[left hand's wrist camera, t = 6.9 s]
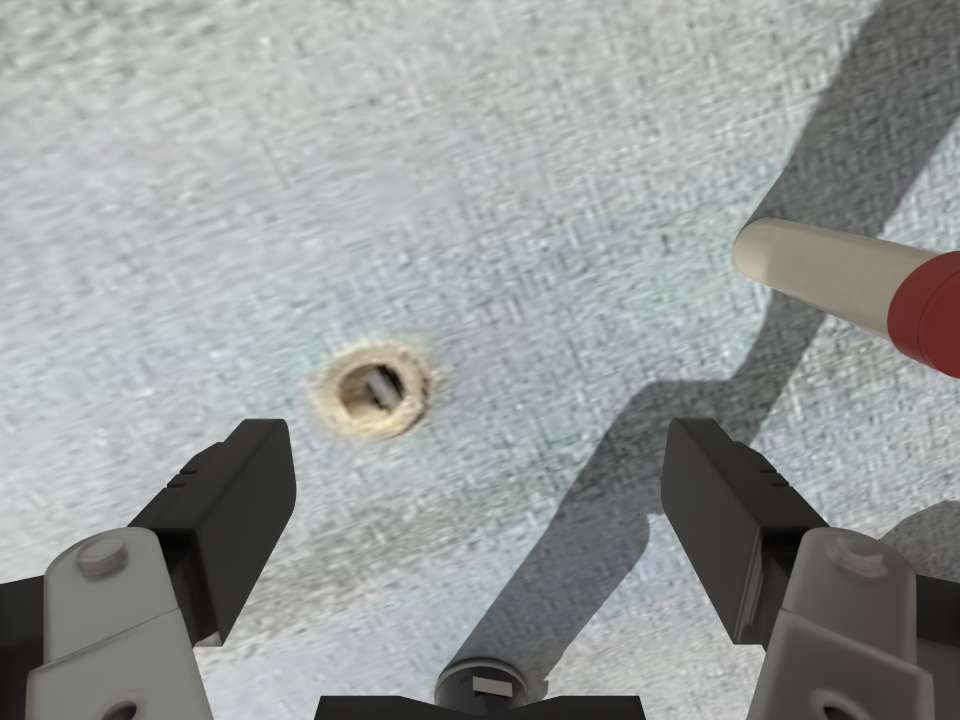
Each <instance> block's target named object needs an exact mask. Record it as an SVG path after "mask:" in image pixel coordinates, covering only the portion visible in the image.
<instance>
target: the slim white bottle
mask: <svg viewBox="0 0 960 720" xmlns="http://www.w3.org/2000/svg"><path fill="white" fill-rule="evenodd" d="M942 254H945V252H940V251H935V250H930V249H926V248H921V247H916V246H911V245H906V244H901V243H896V242H891V241H887V240H882V239H877V238H872V237H867V236H862V235H857V234H853V233H848V232H843V231H838V230H833V229H828V228H823V227H819V226H814V225H809V224H804V223H799V222H794V221H789V220H785V219H780V218H774V217H765V218H761V219H758V220H756V221H754V222H752V223H750V224H749V225H747V226H746V227H745V228H744V229H743V230H742V231H741V233H740V234H739V235H738V237H737V239H736V241H735V244H734V248H733V260H734V263H735V266H736V268H737V269H738V270H739V272H740V273H742V274H743V275H744V276H746V277H748V278H750V279H753V280H755V281H757V282H759V283H762V284H764V285H766V286H768V287H770V288H773V289H775V290H777V291H779V292H782V293H784V294H786V295H788V296H790V297H793V298H795V299H797V300H799V301H802V302H804V303H806V304H808V305H810V306H813V307H815V308H817V309H819V310H822V311H824V312H826V313H828V314H830V315H833V316H835V317H837V318H839V319H842V320H844V321H846V322H848V323H850V324H853V325H855V326H857V327H859V328H862V329H864V330H866V331H868V332H870V333H873V334H875V335H877V336H879V337H882V338H884V339H886V340H888V341H890V342H892V341H891V339H890V336H889V333H888V328H887V315H888V309H889V306H890V303H891V301H892V298H893V296H894V294H895V292H896V290H897V289H898V288H899V286H900V285H901V283H902V282H903V281H904V280H905V279H906V278H907V276H908V275H909V274H911V273H912V272H913V271H914V270H915V269H916V268H918V267H919V266H920V265H922V264H923V263H925V262H927V261H928V260H930V259H932V258H934V257H936V256H939V255H942Z"/></svg>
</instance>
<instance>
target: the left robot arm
mask: <svg viewBox="0 0 960 720" xmlns="http://www.w3.org/2000/svg"><path fill="white" fill-rule="evenodd" d="M661 498H662V504H663V508H664V511H665V513H666V516H667V517H668V519H669V521H670V523H671V525H672V527H673V529H674V531H675V533H676V535H677V537H678V539H679V541H680V542H681V544H682V546H683V548H684V550H685V552H686V554H687V556H688V558H689V560H690V562H691V564H692V566H693V567H694V569H695V571H696V573H697V575H698V577H699V579H700V581H701V583H702V585H703V587H704V589H705V591H706V592H707V594H708V596H709V598H710V600H711V602H712V604H713V606H714V608H715V610H716V612H717V614H718V615H719V617H720V619H721V621H722V623H723V625H724V627H725V629H726V631H727V633H728V635H729V637H730V639H731V640H732V642H733V644H734V645H762V646H763V648H764V650H765V652H766V656H765V659H764V662H763V666H762V669H761V672H760V676H759V679H758V682H757V686H756V689H755V692H754V696H753V699H752V702H751V706H750V709H749V712H748V716H747V719H746V720H960V583H955V582H951V581H946V580H941V579H936V578H931V577H927V576H922V575H917V574H915V572H914V570H913V568H912V567H911V565H910V564H909V563H908V562H907V561H906V560H905V559H904V558H903V557H902V556H901V555H900V554H899V553H898V552H896V551H895V550H893V549H892V548H890V547H889V546H887V545H886V544H884V543H882V542H880V541H878V540H876V539H874V538H872V537H870V536H867V535H864V534H862V533H859V532H855V531H852V530H848V529H843V528H836V527H830V526H829V525H828V524H827V523H826V522H825V521H824V520H823V518H822V517H821V516H820V515H819V514H818V513H817V512H816V511H815V510H814V509H813V508H812V507H811V506H810V505H809V504H808V503H807V502H806V501H805V499H804V498H803V497H802V496H801V495H800V494H799V493H798V492H797V491H796V490H795V489H794V488H793V487H792V486H789V483H788V482H787V481H786V479H785V478H784V477H783V476H782V475H781V474H780V473H777V470H776V469H775V468H774V467H773V466H772V465H771V464H770V463H769V462H768V460H767V459H766V458H765V457H764V456H763V455H762V454H760V453H758V452H757V451H755V450H753V449H751V448H750V447H748V446H746V445H745V444H743V443H741V442H739V441H732V440H731V438H730V437H729V436H728V435H727V434H726V433H725V432H724V431H723V429H722V428H721V427H720V426H719V425H718V424H717V423H716V422H715V420H713V419H712V418H674V419H673V420H672V421H671V423H670V426H669V430H668V437H667V444H666V451H665V458H664V465H663V472H662V479H661ZM295 501H296V479H295V472H294V465H293V458H292V451H291V444H290V437H289V430H288V426H287V423H286V422H285V420H284V419H245V420H243V421H242V422H241V423H240V424H239V425H238V427H237V428H236V429H235V430H234V431H233V432H232V433H231V434H230V435H229V437H228V438H227V439H226V440H225V441H224V442H217V443H215V444H214V445H212V446H210V447H208V448H207V449H205V450H203V451H202V452H200V453H198V454H196V455H195V456H194V457H193V458H192V459H191V460H190V461H189V462H188V463H187V464H186V465H185V466H184V467H183V468H182V469H181V470H180V474H176V476H175V477H174V478H173V479H172V480H171V481H170V482H169V483H168V484H167V488H163V489H162V490H161V491H160V492H159V493H158V494H157V495H156V496H155V497H154V499H153V500H152V501H151V502H150V503H149V504H148V505H147V506H146V507H145V508H144V509H143V510H142V511H141V512H140V513H139V514H138V515H137V516H136V517H135V518H134V519H133V520H132V522H131V523H130V524H129V525H128V526H127V527H124V528H117V529H112V530H108V531H105V532H101V533H98V534H96V535H93V536H90V537H88V538H86V539H84V540H82V541H80V542H78V543H76V544H74V545H73V546H71V547H70V548H68V549H67V550H65V551H64V552H62V553H61V554H60V555H59V556H58V557H57V558H56V559H55V560H54V561H53V562H52V563H51V564H50V565H49V567H48V568H47V570H46V572H45V575H42V576H37V577H33V578H28V579H23V580H18V581H13V582H8V583H4V584H0V720H214V719H213V716H212V712H211V709H210V706H209V702H208V699H207V696H206V692H205V689H204V686H203V682H202V679H201V676H200V672H199V669H198V666H197V662H196V659H195V656H194V652H193V648H194V647H222V646H223V644H224V642H225V640H226V638H227V636H228V635H229V633H230V631H231V629H232V627H233V625H234V623H235V621H236V619H237V618H238V616H239V614H240V612H241V610H242V608H243V606H244V604H245V602H246V600H247V599H248V597H249V595H250V593H251V591H252V589H253V587H254V585H255V583H256V581H257V580H258V578H259V576H260V574H261V572H262V570H263V568H264V566H265V564H266V562H267V561H268V559H269V557H270V555H271V553H272V551H273V549H274V547H275V545H276V543H277V542H278V540H279V538H280V536H281V534H282V532H283V530H284V528H285V526H286V524H287V523H288V521H289V519H290V517H291V515H292V513H293V510H294V506H295ZM434 700H435V705H432V704H429V703H425V702H421V701H417V700H413V699H410V698H406V697H402V696H321V697H320V701H319V704H318V708H317V711H316V714H315V718H314V720H646V718H645V714H644V711H643V708H642V704H641V701H640V697H639V696H558V697H554V698H550V699H547V700H543V701H539V702H535V703H531V704H528V690H527V685H526V682H525V680H524V678H523V677H522V675H521V674H520V673H519V672H518V671H517V670H516V669H514V668H513V667H511V666H510V665H508V664H505V663H503V662H500V661H497V660H492V659H471V660H466V661H462V662H460V663H457V664H455V665H453V666H451V667H450V668H448V669H447V670H446V671H445V672H444V673H443V674H442V675H441V676H440V678H439V679H438V681H437V684H436V687H435V699H434Z"/></svg>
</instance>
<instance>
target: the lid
mask: <svg viewBox="0 0 960 720" xmlns="http://www.w3.org/2000/svg"><path fill="white" fill-rule="evenodd" d="M887 328H888V333H889V336H890V339H891V341H892V343H893V344H894V345H895V347H896V348H897V349H898V350H899V351H900V352H901V353H903V354H904V355H906V356H908V357H910V358H912V359H914V360H916V361H918V362H920V363H922V364H925V365H927V366H929V367H931V368H933V369H935V370H937V371H940V372H942V373H944V374H946V375H948V376H951V377H954V378H960V251H953V252H949V253H945V254H942V255H939V256H936V257H934V258H932V259H930V260H928V261H927V262H925V263H923V264H922V265H920V266H919V267H918V268H916V269H915V270H914V271H913V272H912V273H911V274H909V275H908V276H907V278H906V279H905V280H904V281H903V282H902V283H901V285H900V286H899V288H898V289H897V290H896V292H895V294H894V296H893V298H892V301H891V303H890V306H889V309H888V315H887Z"/></svg>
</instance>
